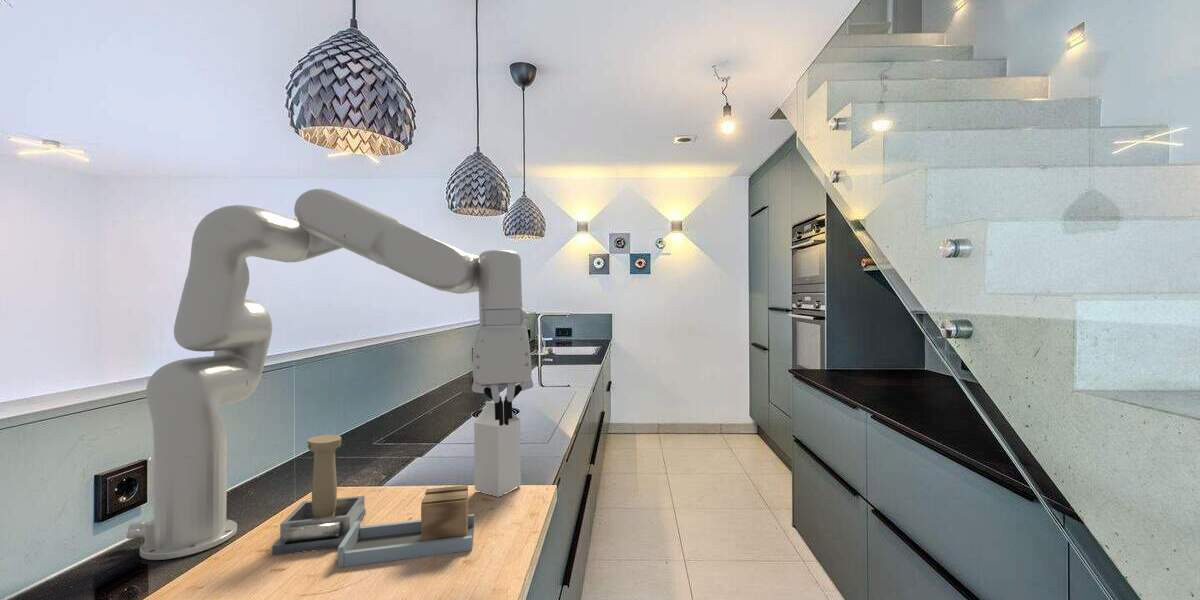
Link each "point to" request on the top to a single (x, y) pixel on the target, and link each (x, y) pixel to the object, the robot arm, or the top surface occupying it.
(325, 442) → the handle
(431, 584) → the top surface
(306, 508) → the gray square tray
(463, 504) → the crate
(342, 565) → the bay
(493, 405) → the milk carton
